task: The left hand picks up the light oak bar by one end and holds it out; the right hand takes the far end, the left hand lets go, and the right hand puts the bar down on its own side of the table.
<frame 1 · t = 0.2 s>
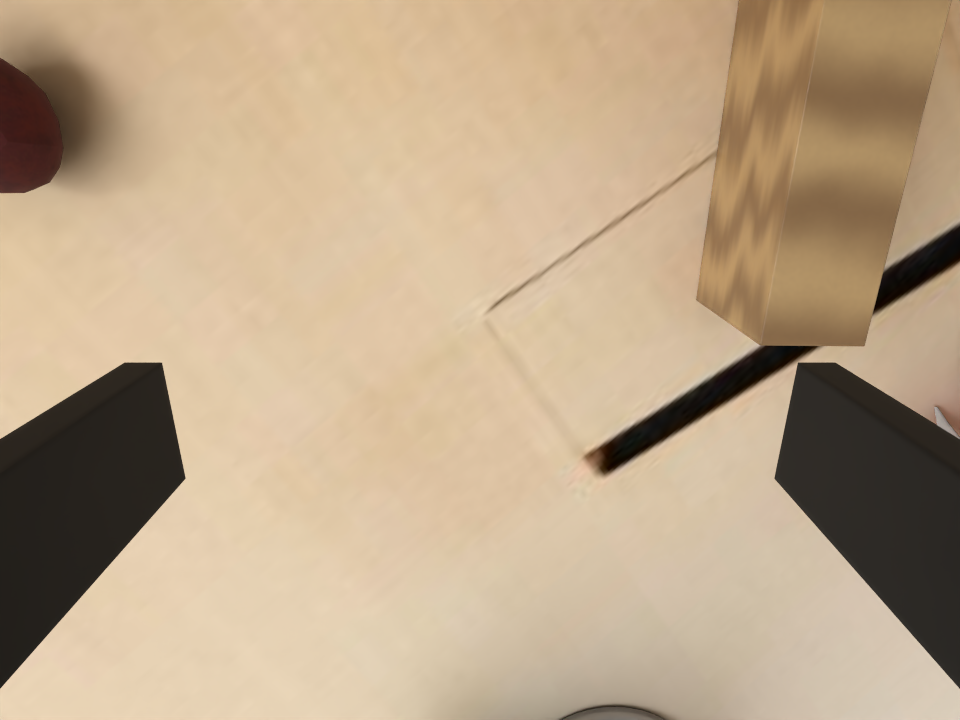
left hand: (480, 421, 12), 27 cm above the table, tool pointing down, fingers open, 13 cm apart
dark red round piece: (30, 127, 36), on the table
bar: (767, 114, 35), on the table
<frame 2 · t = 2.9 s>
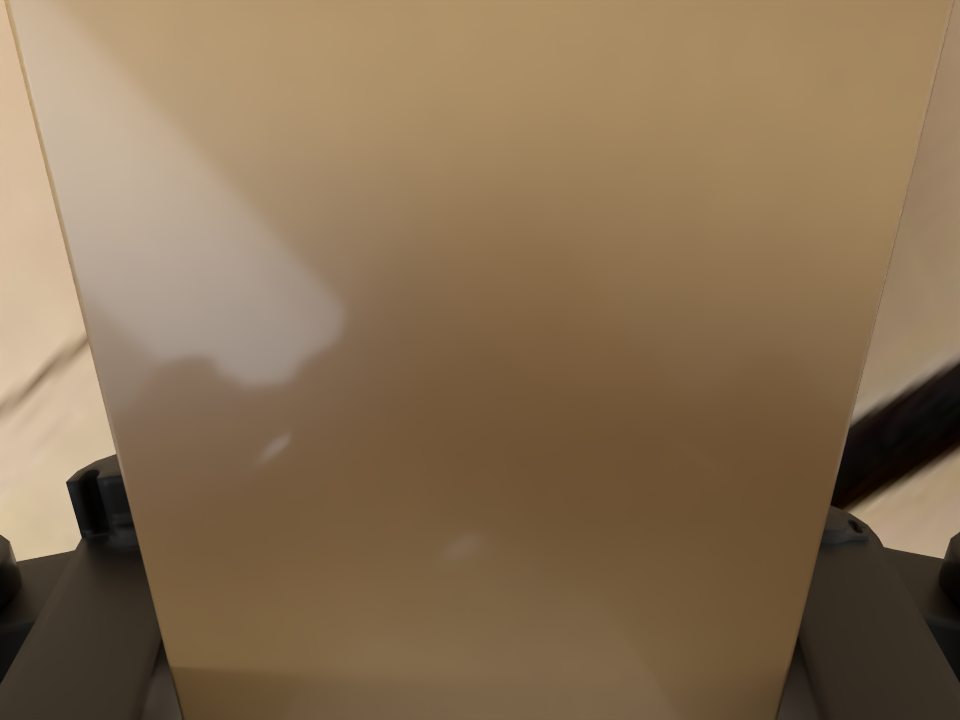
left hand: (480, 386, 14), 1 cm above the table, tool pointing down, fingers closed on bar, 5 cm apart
bar: (479, 0, 12), on the table, touching left hand
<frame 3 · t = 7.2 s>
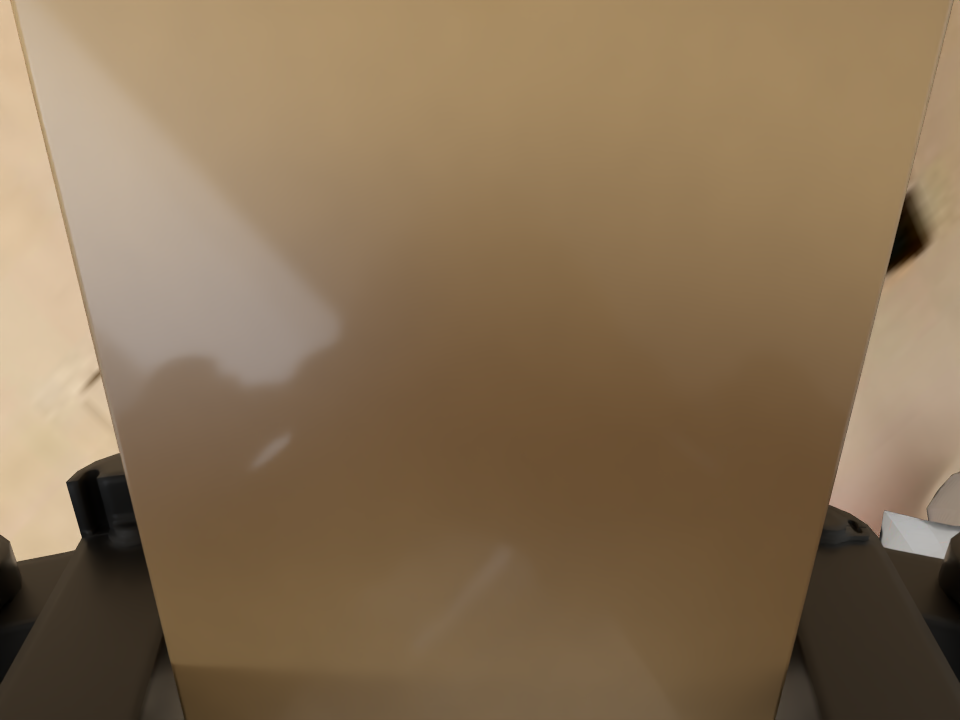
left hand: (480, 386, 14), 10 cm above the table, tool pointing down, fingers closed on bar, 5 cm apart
fish: (819, 545, 28), on the table
when the left hand's fingers open (10 cm above the table, at t = 8.0 s): bar stays where it is, held by the right hand.
when the right hand's fingers open (7 cm above the table, at t = 14.0 s): bar drops 2 cm, on the table.
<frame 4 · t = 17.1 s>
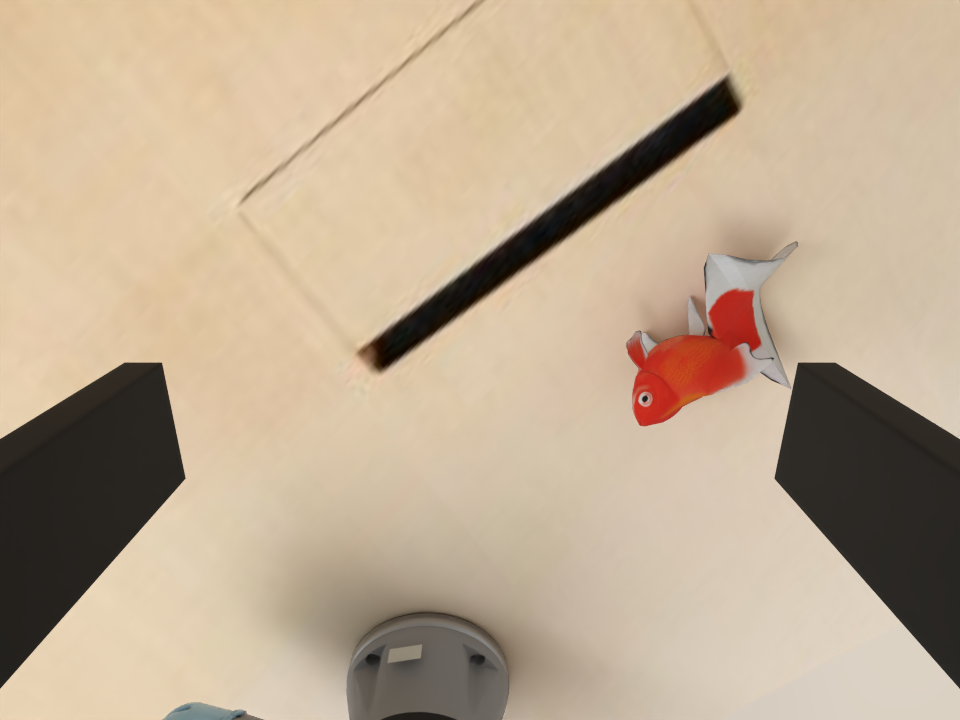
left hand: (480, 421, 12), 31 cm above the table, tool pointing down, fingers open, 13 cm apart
fish: (693, 314, 44), on the table
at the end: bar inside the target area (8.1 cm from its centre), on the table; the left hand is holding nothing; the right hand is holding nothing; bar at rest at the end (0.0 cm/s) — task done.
